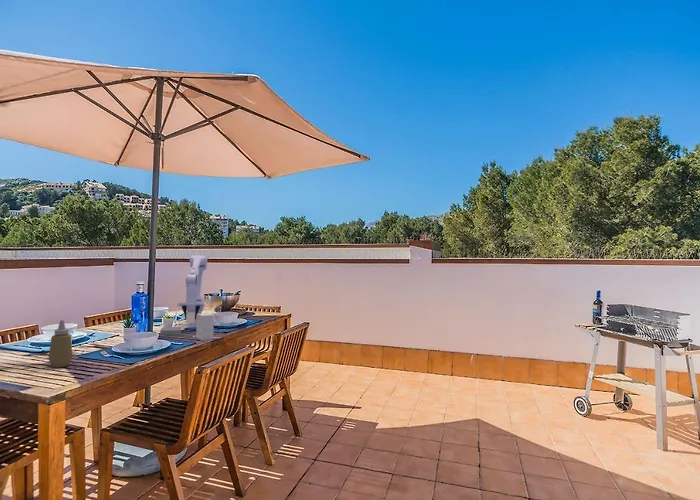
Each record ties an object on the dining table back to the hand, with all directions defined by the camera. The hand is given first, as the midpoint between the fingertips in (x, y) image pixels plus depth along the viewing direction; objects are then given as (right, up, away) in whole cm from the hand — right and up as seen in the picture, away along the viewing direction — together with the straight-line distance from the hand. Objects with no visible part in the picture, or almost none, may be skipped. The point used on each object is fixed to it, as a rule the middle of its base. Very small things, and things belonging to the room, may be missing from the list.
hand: (190, 319), depth 258 cm
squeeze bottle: (-23, -7, -80) cm, 83 cm away
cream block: (0, -2, 0) cm, 2 cm away
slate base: (-9, -7, -7) cm, 13 cm away
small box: (+14, -8, -18) cm, 24 cm away
